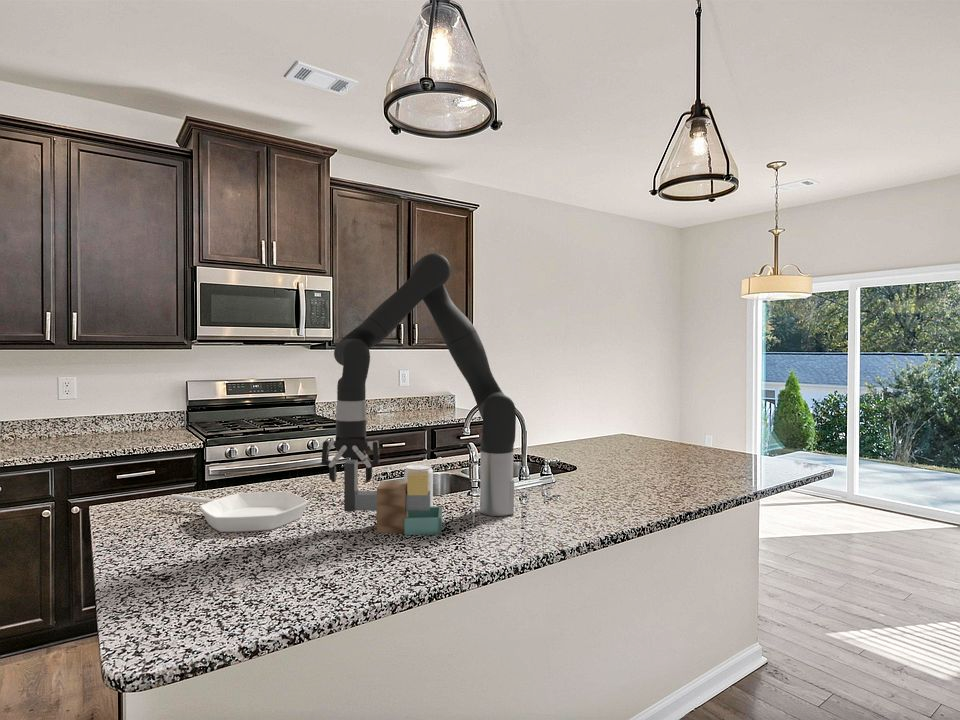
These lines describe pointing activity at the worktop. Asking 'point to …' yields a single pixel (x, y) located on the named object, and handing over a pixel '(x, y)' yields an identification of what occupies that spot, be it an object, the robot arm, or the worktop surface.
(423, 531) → the tray
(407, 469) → the beverage can
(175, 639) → the worktop surface
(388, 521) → the block
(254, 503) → the pan
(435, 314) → the robot arm
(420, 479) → the block
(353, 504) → the grey l-shaped block
